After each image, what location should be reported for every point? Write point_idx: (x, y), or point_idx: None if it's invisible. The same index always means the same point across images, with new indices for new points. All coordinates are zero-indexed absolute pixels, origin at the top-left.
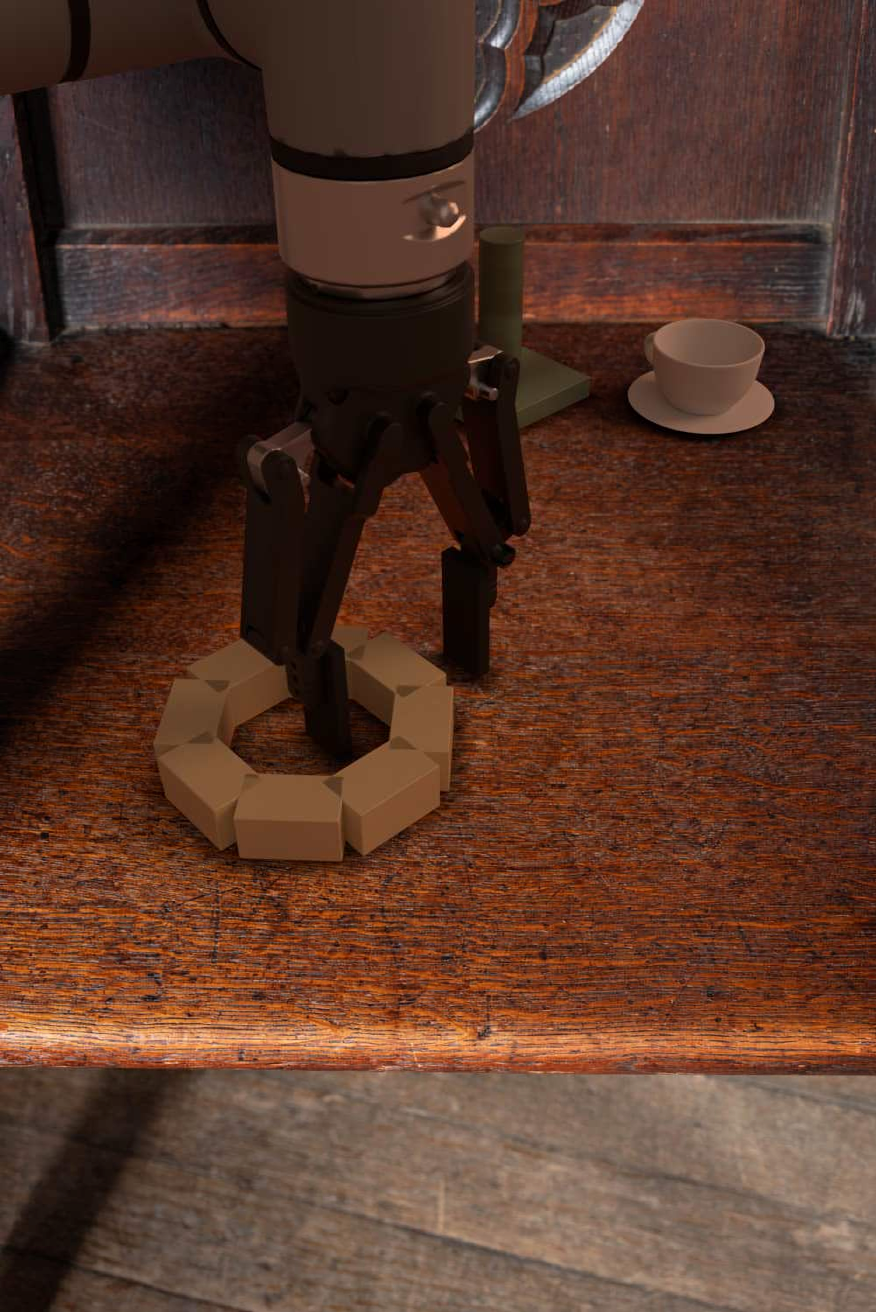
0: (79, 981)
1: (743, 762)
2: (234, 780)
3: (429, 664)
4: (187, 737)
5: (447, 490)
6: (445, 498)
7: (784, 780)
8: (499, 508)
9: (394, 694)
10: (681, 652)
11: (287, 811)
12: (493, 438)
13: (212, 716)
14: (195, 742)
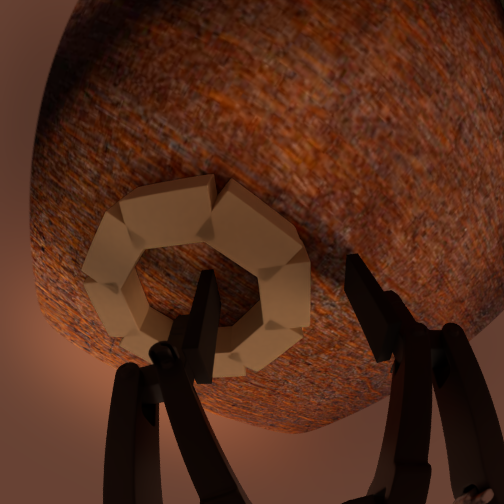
0: (61, 328)
1: (377, 378)
2: (124, 327)
3: (307, 314)
4: (102, 279)
5: (383, 449)
6: (392, 423)
7: (376, 387)
8: (445, 357)
9: (262, 324)
10: (432, 320)
11: (148, 358)
12: (453, 456)
13: (122, 271)
14: (106, 287)
